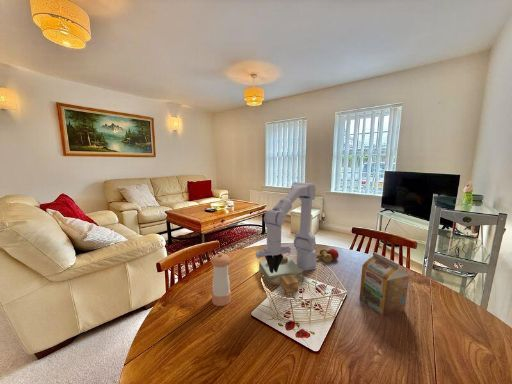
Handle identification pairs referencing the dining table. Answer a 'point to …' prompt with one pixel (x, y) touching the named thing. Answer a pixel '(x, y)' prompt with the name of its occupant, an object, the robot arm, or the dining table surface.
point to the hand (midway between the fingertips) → (273, 271)
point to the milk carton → (383, 285)
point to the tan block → (289, 283)
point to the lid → (281, 268)
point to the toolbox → (277, 279)
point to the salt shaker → (221, 280)
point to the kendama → (328, 254)
